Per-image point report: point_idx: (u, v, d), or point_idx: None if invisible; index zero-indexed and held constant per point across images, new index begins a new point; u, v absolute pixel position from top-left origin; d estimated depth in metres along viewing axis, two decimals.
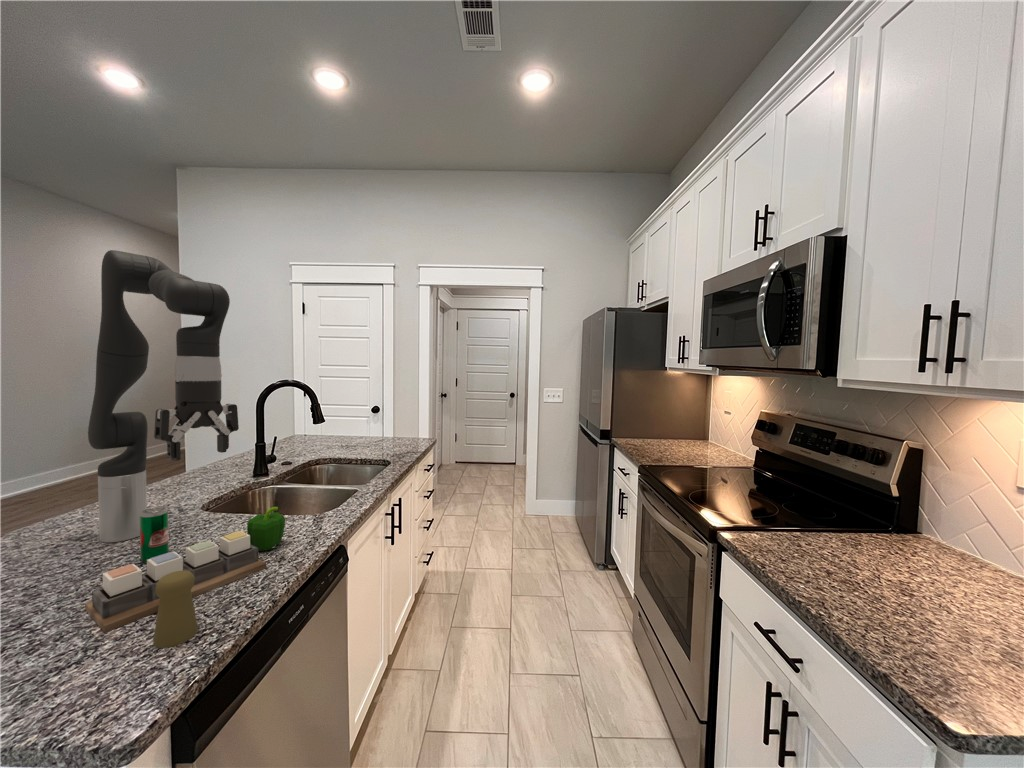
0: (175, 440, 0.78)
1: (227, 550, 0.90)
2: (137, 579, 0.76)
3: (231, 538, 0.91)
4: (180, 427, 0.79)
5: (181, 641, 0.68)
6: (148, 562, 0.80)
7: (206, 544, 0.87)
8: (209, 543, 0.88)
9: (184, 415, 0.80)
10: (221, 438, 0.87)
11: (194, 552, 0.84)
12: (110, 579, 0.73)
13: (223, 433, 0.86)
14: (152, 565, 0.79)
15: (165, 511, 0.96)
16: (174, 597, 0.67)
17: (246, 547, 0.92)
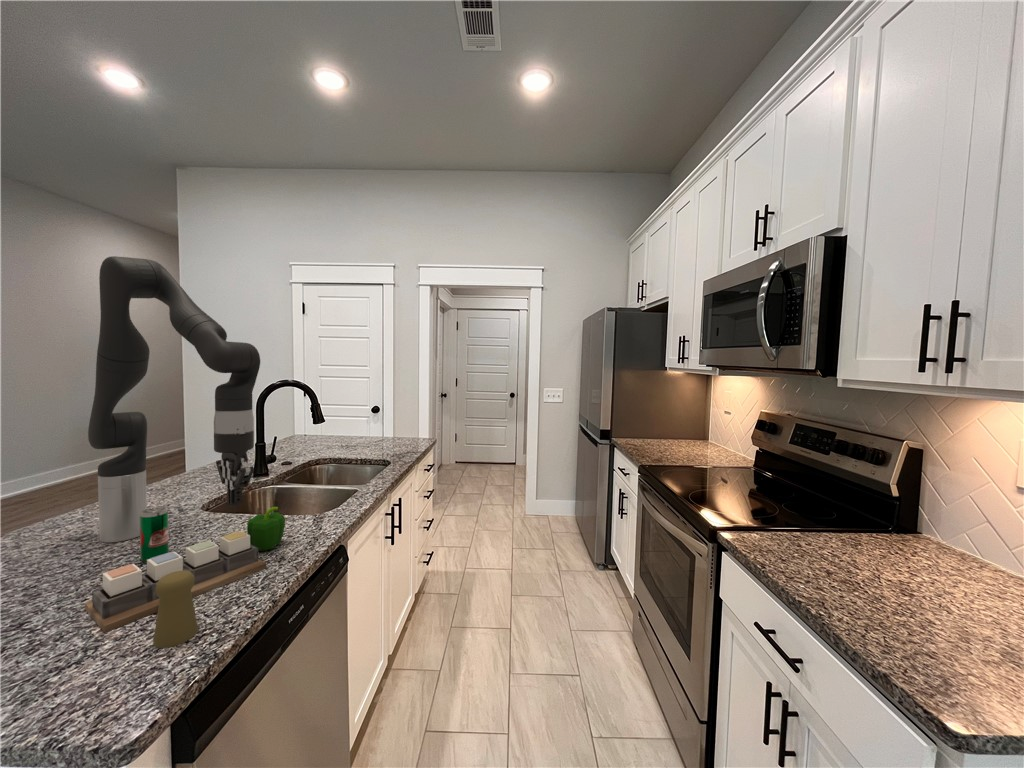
0: None
1: (227, 550, 0.90)
2: (137, 579, 0.76)
3: (231, 538, 0.91)
4: None
5: (181, 641, 0.68)
6: (148, 562, 0.80)
7: (206, 544, 0.87)
8: (209, 543, 0.88)
9: None
10: None
11: (194, 552, 0.84)
12: (110, 579, 0.73)
13: None
14: (152, 565, 0.79)
15: (165, 511, 0.96)
16: (174, 597, 0.67)
17: (246, 547, 0.92)
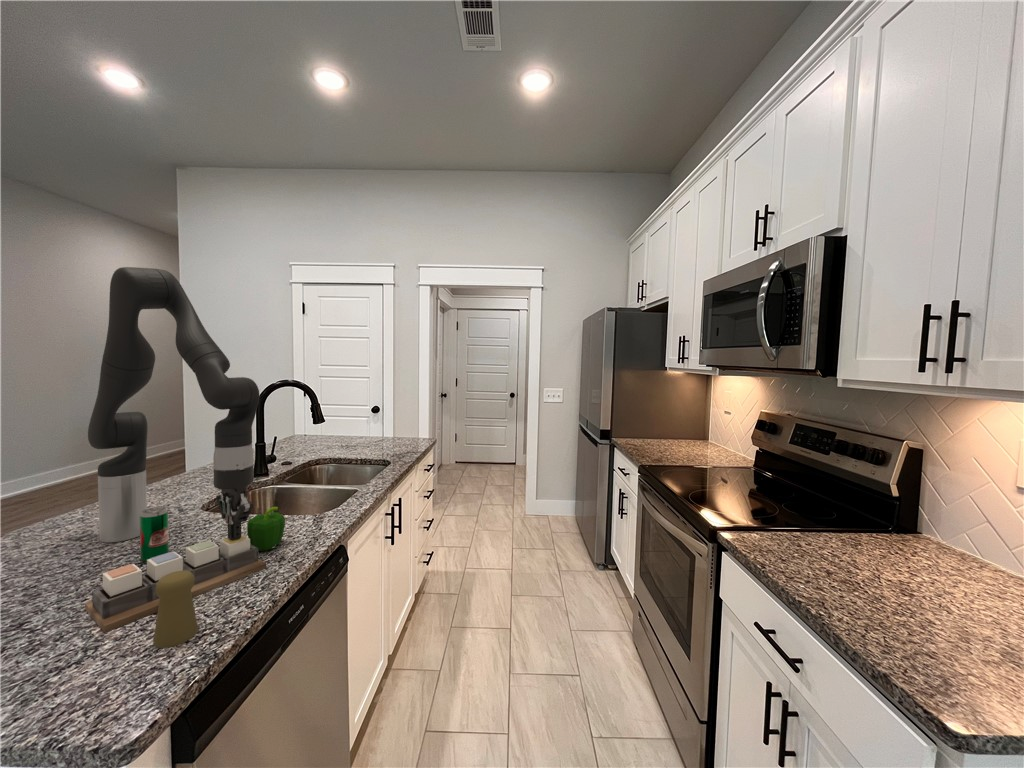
0: None
1: (227, 553, 0.90)
2: (137, 579, 0.76)
3: (231, 541, 0.91)
4: None
5: (181, 641, 0.68)
6: (148, 562, 0.80)
7: (206, 544, 0.87)
8: (209, 543, 0.88)
9: None
10: None
11: (194, 552, 0.84)
12: (110, 579, 0.73)
13: None
14: (152, 565, 0.79)
15: (165, 511, 0.96)
16: (174, 597, 0.67)
17: (246, 550, 0.92)
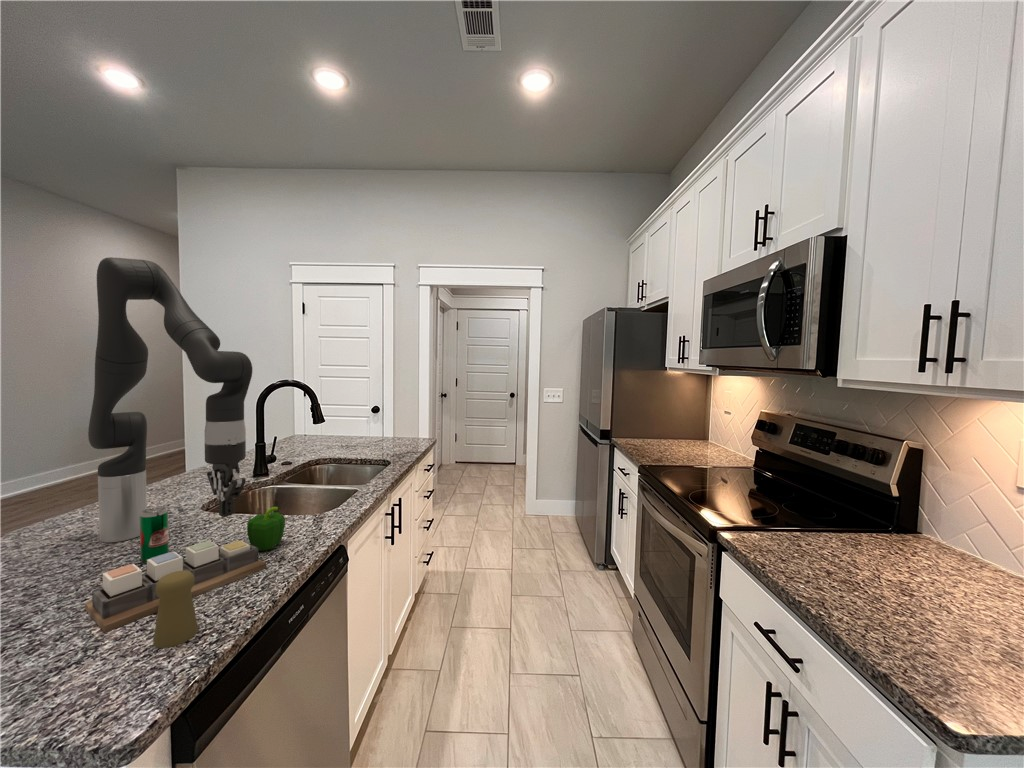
0: None
1: None
2: (137, 579, 0.76)
3: (231, 548, 0.91)
4: None
5: (181, 641, 0.68)
6: (148, 562, 0.80)
7: (206, 544, 0.87)
8: (209, 543, 0.88)
9: None
10: None
11: (194, 552, 0.84)
12: (110, 579, 0.73)
13: None
14: (152, 565, 0.79)
15: (165, 511, 0.96)
16: (174, 597, 0.67)
17: None
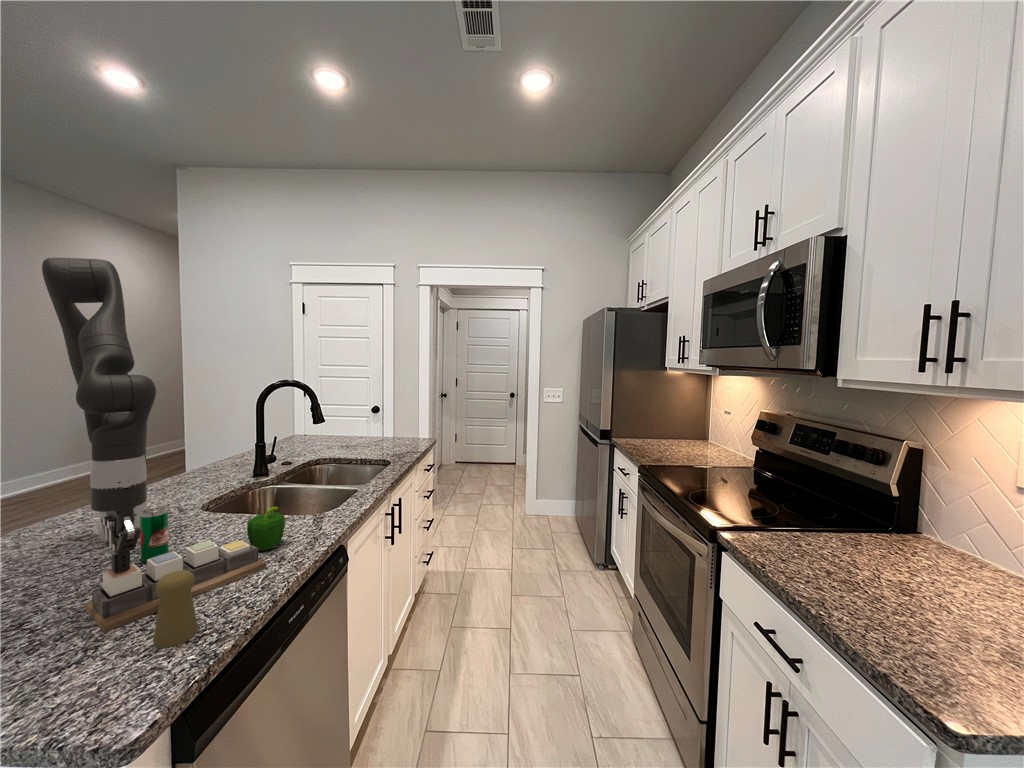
0: None
1: None
2: (137, 579, 0.76)
3: (231, 548, 0.91)
4: None
5: (181, 641, 0.68)
6: (148, 562, 0.80)
7: (206, 544, 0.87)
8: (209, 543, 0.88)
9: None
10: None
11: (194, 552, 0.84)
12: (110, 579, 0.73)
13: None
14: (152, 565, 0.79)
15: (165, 511, 0.96)
16: (174, 597, 0.67)
17: None
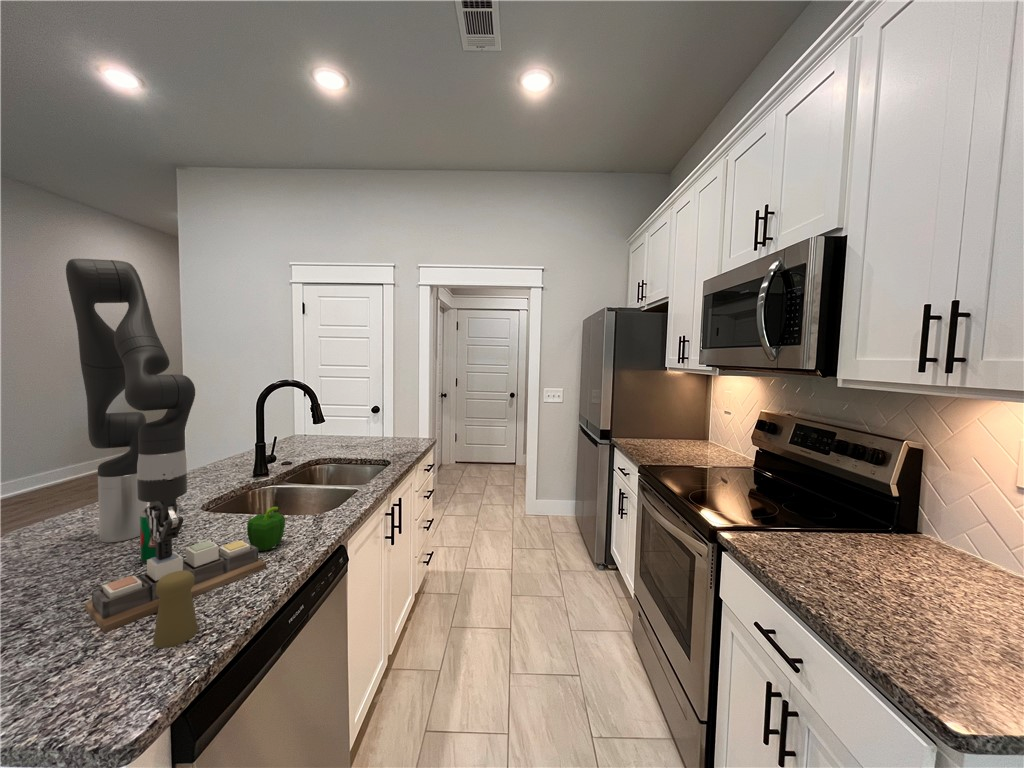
0: None
1: None
2: None
3: (231, 548, 0.91)
4: None
5: (181, 641, 0.68)
6: (148, 562, 0.80)
7: (206, 544, 0.87)
8: (209, 543, 0.88)
9: None
10: None
11: (194, 552, 0.84)
12: (110, 591, 0.73)
13: None
14: (152, 565, 0.79)
15: None
16: (174, 597, 0.67)
17: None
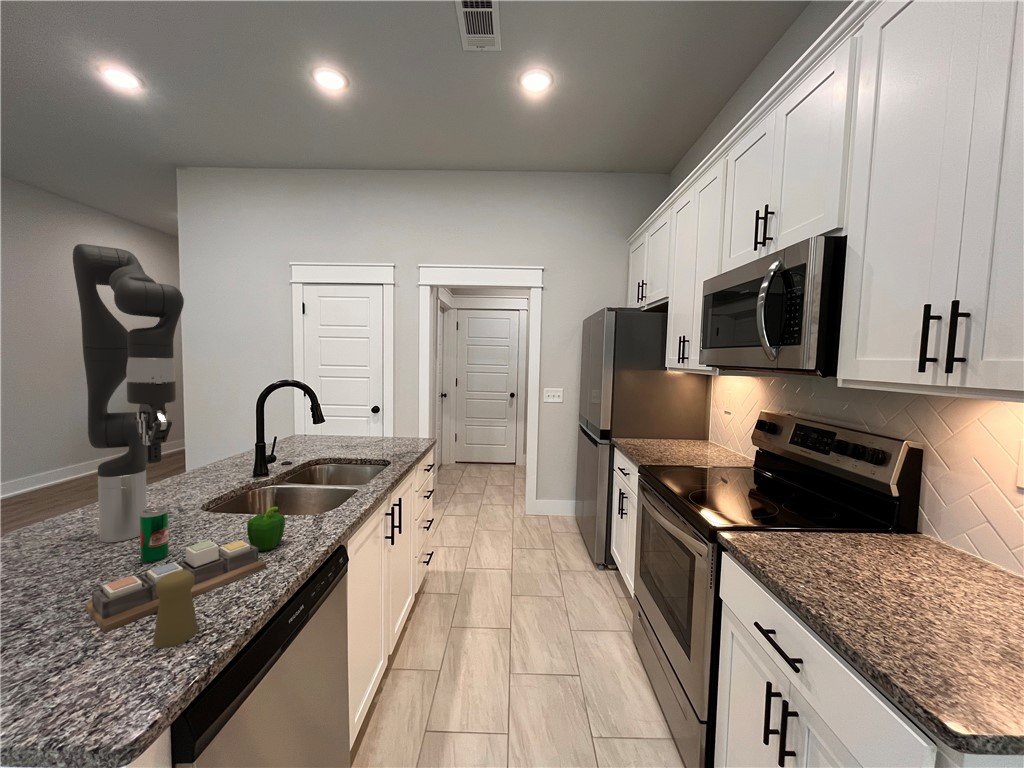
0: None
1: None
2: None
3: (231, 548, 0.91)
4: None
5: (181, 641, 0.68)
6: (148, 573, 0.80)
7: (206, 544, 0.87)
8: (209, 543, 0.88)
9: None
10: None
11: (194, 552, 0.84)
12: (110, 591, 0.73)
13: None
14: (152, 576, 0.79)
15: (165, 511, 0.96)
16: (174, 597, 0.67)
17: None
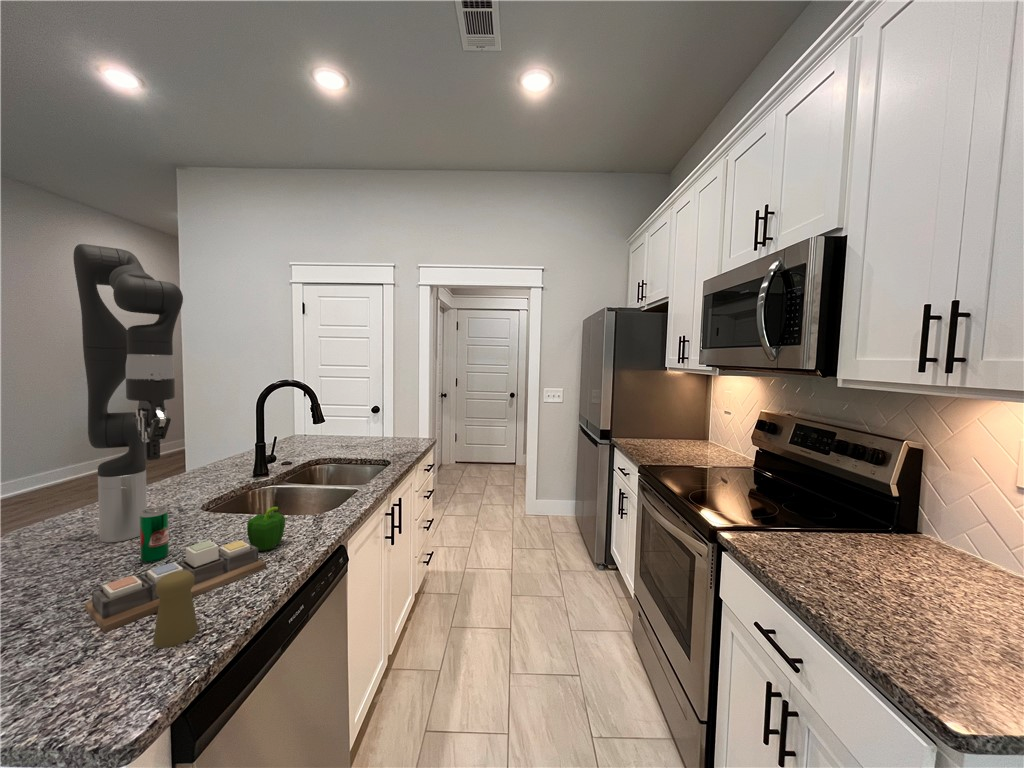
0: None
1: None
2: None
3: (231, 548, 0.91)
4: None
5: (181, 641, 0.68)
6: (148, 573, 0.80)
7: (206, 544, 0.87)
8: (209, 543, 0.88)
9: None
10: None
11: (194, 552, 0.84)
12: (110, 591, 0.73)
13: None
14: (152, 576, 0.79)
15: (165, 511, 0.96)
16: (174, 597, 0.67)
17: None
